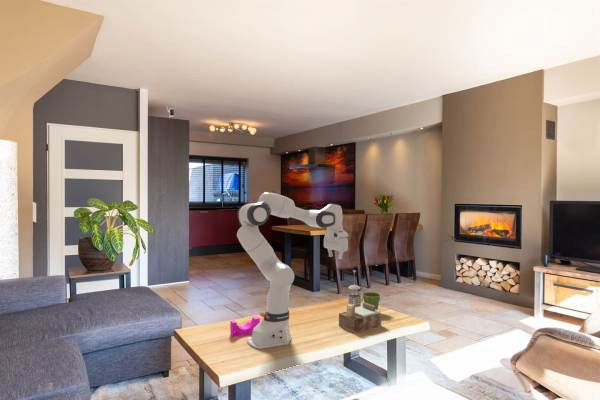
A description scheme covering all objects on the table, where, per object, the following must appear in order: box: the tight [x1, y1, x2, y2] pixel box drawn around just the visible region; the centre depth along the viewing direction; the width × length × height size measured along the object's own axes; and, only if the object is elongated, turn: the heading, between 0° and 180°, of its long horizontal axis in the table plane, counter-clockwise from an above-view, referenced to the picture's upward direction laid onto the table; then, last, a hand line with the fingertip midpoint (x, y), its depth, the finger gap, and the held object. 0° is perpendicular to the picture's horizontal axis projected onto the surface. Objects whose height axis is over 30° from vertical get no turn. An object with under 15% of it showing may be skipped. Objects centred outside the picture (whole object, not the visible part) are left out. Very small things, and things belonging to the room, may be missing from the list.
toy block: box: [229, 315, 261, 338], centre depth 198 cm, size 15×6×8 cm, turn 119°
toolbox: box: [338, 311, 382, 334], centre depth 209 cm, size 20×13×7 cm, turn 125°
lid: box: [355, 302, 382, 317], centre depth 210 cm, size 13×13×4 cm
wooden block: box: [346, 303, 355, 317], centre depth 204 cm, size 3×3×12 cm
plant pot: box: [361, 291, 382, 311], centre depth 233 cm, size 12×12×11 cm
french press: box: [347, 269, 364, 308], centre depth 239 cm, size 10×12×25 cm
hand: (335, 257), depth 206 cm, fingers open, 8 cm apart
